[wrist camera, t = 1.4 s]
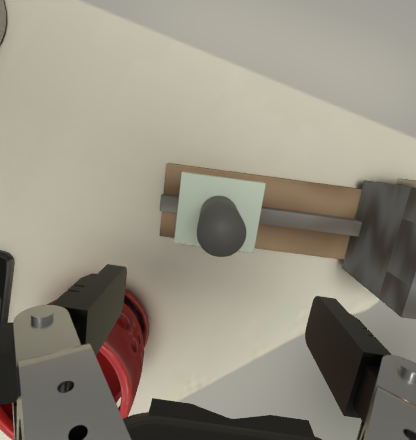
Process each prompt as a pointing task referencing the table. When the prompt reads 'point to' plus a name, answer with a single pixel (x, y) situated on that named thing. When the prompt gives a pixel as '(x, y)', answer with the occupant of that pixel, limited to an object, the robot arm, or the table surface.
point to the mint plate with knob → (218, 213)
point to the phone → (5, 284)
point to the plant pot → (113, 360)
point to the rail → (284, 200)
